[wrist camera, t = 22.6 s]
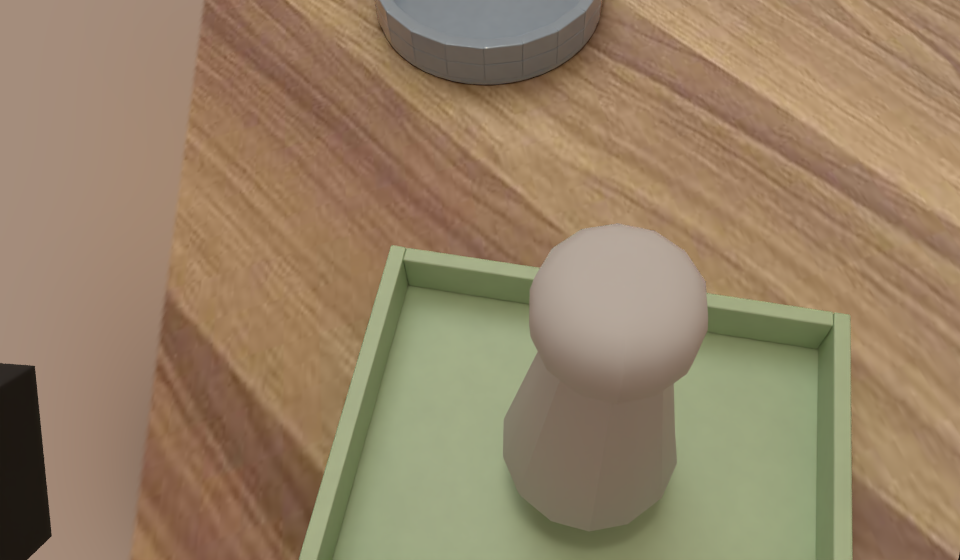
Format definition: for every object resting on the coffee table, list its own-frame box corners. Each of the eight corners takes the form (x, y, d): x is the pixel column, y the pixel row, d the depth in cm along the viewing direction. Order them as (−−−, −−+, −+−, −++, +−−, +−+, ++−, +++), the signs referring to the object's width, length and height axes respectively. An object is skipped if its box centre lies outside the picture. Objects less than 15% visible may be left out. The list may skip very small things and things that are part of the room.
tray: (304, 608, 30) (287, 593, 28) (398, 277, 36) (391, 244, 34) (828, 718, 28) (854, 711, 25) (830, 344, 34) (851, 314, 32)
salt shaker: (470, 471, 32) (443, 294, 20) (570, 360, 34) (596, 143, 22) (600, 583, 29) (651, 455, 18) (699, 457, 31) (799, 272, 20)
